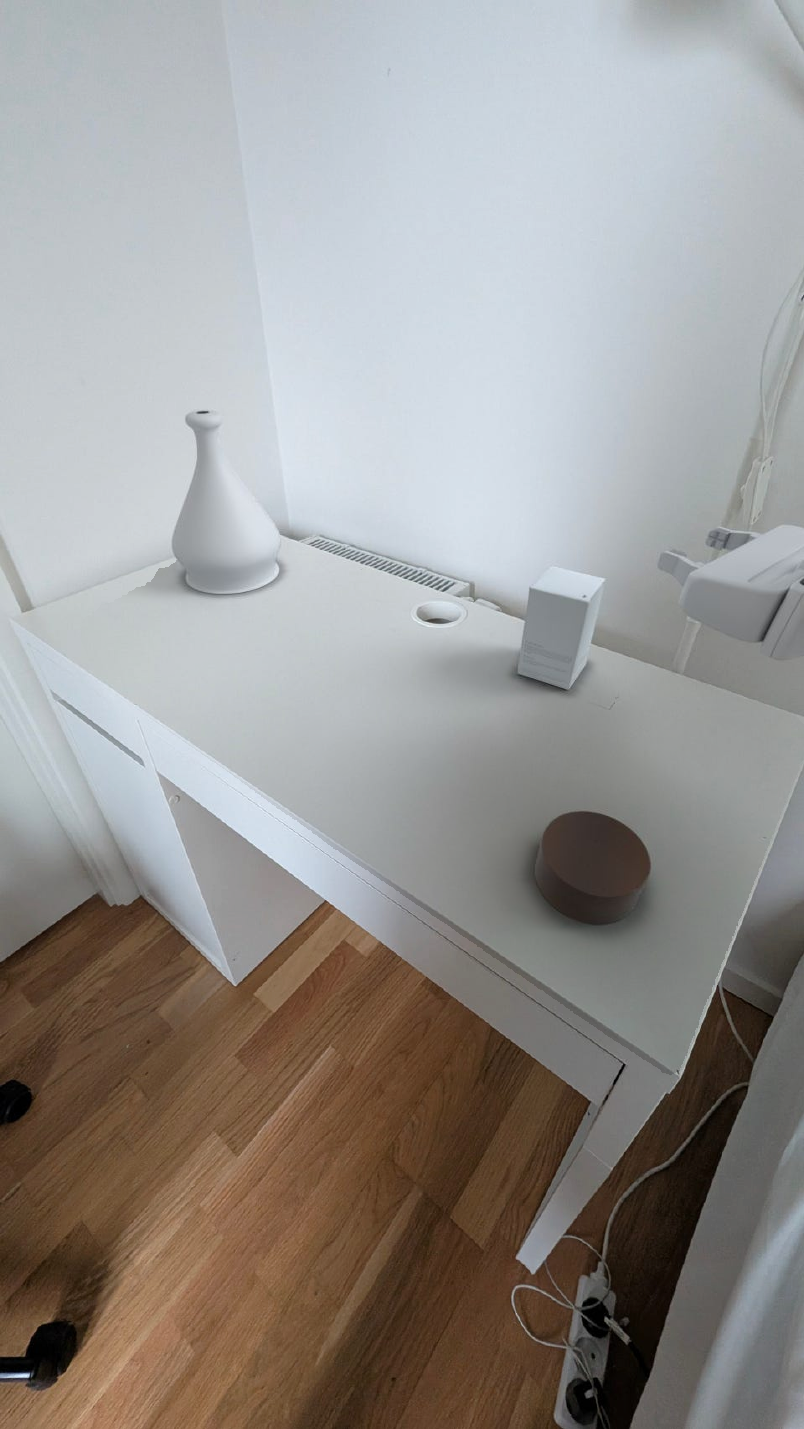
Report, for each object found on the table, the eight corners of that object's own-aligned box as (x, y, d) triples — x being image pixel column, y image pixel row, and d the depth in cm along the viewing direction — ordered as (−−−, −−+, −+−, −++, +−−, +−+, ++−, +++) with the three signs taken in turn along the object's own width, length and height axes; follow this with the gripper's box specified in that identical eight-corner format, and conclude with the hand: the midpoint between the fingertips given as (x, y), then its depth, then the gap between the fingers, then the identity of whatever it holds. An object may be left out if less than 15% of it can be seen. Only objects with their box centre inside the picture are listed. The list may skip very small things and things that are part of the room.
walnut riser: (641, 856, 54) (654, 828, 51) (633, 940, 47) (647, 912, 45) (545, 827, 56) (552, 799, 54) (524, 903, 50) (531, 875, 47)
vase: (165, 568, 100) (122, 408, 85) (257, 544, 109) (234, 395, 93) (203, 607, 90) (162, 433, 74) (302, 578, 98) (284, 415, 82)
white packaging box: (587, 664, 78) (609, 578, 70) (568, 692, 73) (589, 602, 65) (536, 648, 81) (551, 564, 73) (514, 673, 76) (528, 586, 68)
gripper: (893, 536, 54) (747, 494, 62) (804, 600, 44) (642, 539, 52) (857, 596, 58) (724, 550, 66) (768, 668, 48) (622, 602, 56)
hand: (687, 546), depth 59 cm, fingers open, 8 cm apart
